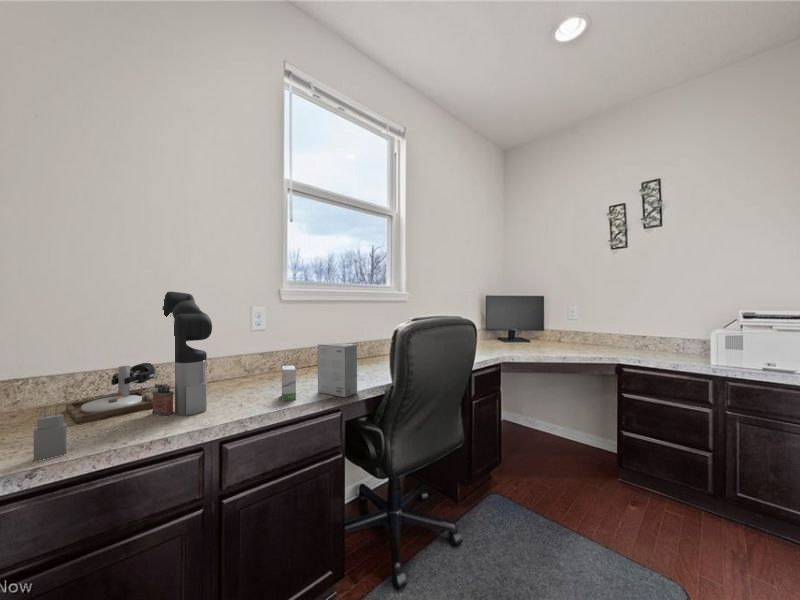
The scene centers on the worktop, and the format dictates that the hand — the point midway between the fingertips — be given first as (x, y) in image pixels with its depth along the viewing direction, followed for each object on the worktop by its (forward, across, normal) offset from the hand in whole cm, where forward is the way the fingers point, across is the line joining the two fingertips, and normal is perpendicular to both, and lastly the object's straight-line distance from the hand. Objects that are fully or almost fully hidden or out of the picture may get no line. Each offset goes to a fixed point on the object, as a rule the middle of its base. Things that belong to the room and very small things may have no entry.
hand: (119, 381), depth 119 cm
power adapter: (+42, +8, +9) cm, 44 cm away
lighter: (+14, +20, +9) cm, 26 cm away
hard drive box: (+1, +77, +9) cm, 78 cm away
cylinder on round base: (+4, 0, +7) cm, 8 cm away
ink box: (+3, +59, +9) cm, 59 cm away
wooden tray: (+4, 0, +8) cm, 10 cm away
